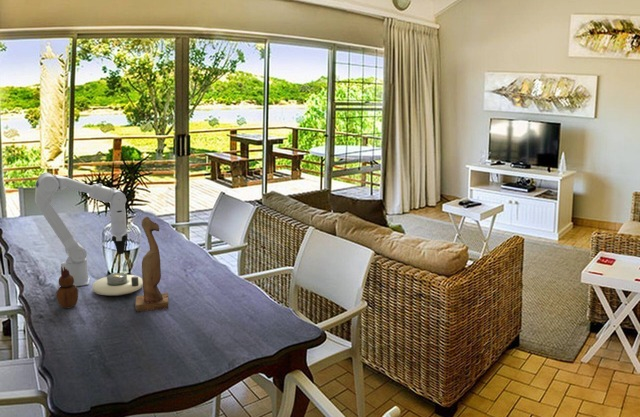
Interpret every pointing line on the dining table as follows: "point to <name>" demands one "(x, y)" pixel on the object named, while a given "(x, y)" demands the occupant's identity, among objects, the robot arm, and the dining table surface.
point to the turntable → (105, 289)
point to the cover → (116, 279)
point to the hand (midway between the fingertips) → (120, 253)
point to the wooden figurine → (67, 290)
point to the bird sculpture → (151, 273)
